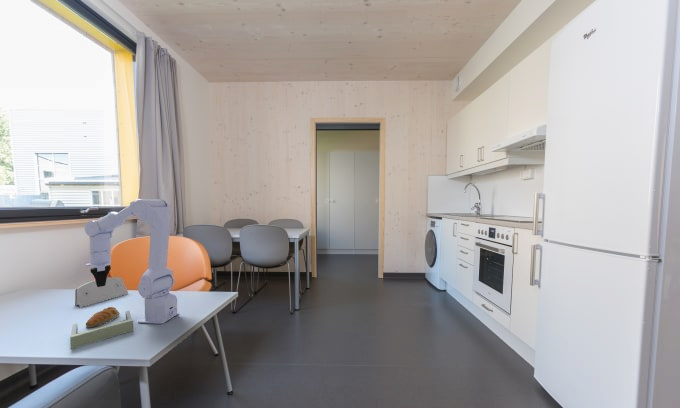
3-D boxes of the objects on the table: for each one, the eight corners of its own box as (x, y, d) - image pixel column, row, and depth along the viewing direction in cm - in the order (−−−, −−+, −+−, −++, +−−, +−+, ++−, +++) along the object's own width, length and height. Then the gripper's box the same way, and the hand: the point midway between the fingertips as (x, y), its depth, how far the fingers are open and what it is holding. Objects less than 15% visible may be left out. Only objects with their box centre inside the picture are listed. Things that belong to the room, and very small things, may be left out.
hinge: (79, 308, 99) (75, 283, 100) (74, 309, 101) (70, 286, 102) (129, 293, 114) (125, 272, 115) (124, 295, 116) (120, 274, 117)
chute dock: (73, 333, 80) (72, 323, 80) (129, 318, 90) (129, 309, 90) (70, 349, 71) (70, 337, 71) (133, 330, 81) (132, 320, 81)
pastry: (100, 328, 83) (100, 317, 83) (78, 330, 82) (77, 318, 82) (121, 315, 93) (121, 305, 93) (101, 316, 92) (101, 306, 92)
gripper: (85, 250, 97) (86, 283, 97) (84, 255, 86) (85, 293, 87) (110, 247, 102) (111, 279, 102) (112, 252, 91) (112, 288, 92)
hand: (101, 285), depth 95 cm, fingers closed
